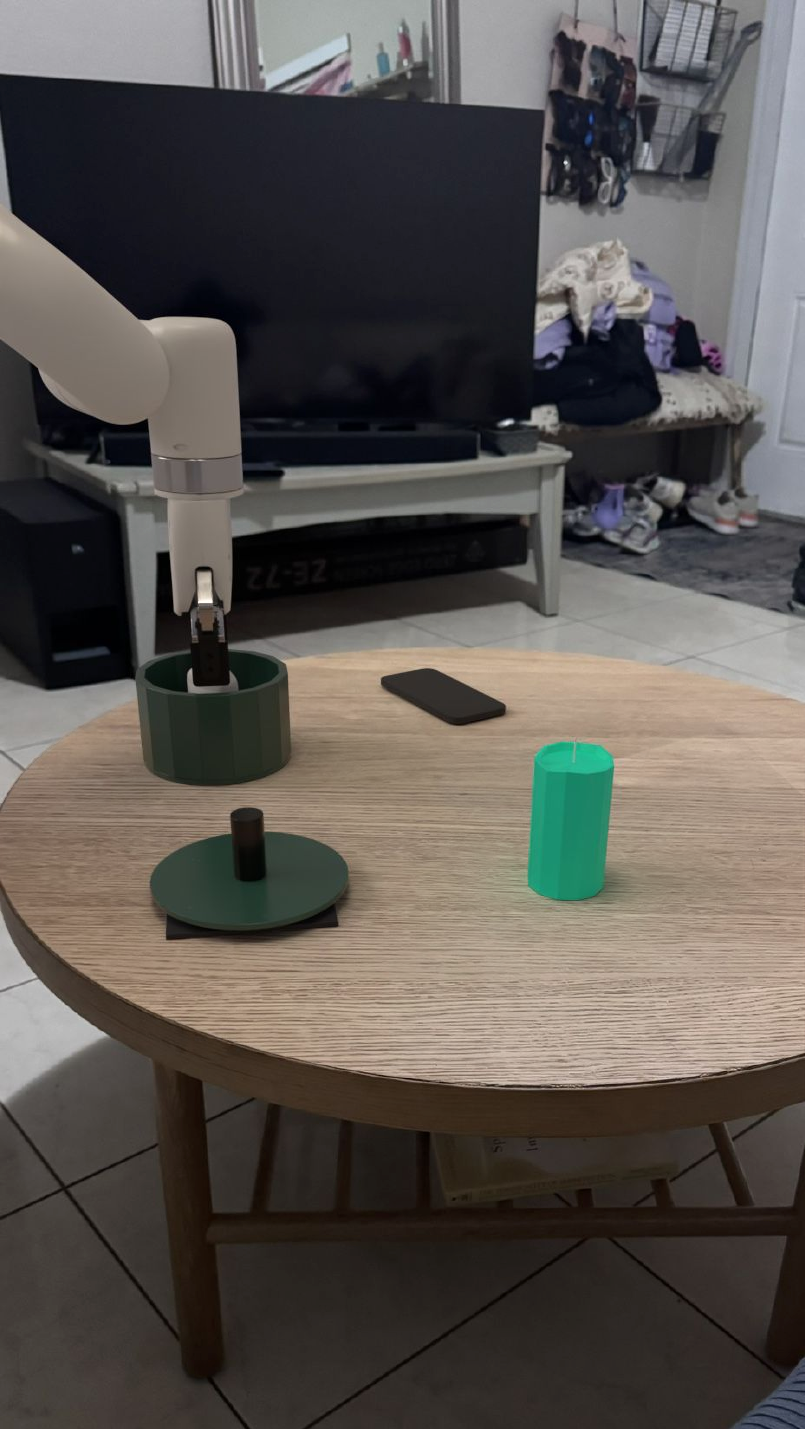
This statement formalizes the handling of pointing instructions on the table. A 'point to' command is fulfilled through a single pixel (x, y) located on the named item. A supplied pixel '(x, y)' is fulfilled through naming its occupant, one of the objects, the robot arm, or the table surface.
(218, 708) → the tin
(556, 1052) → the table surface
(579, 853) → the candle
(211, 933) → the mat
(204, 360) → the robot arm
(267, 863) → the tin lid
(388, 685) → the phone
